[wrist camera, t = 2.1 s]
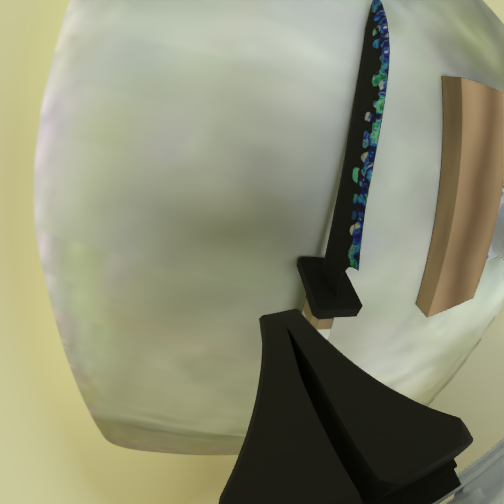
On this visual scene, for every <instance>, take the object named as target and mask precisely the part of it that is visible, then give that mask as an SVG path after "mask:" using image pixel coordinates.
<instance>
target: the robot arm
mask: <svg viewBox="0 0 504 504" xmlns="http://www.w3.org/2000/svg"><path fill="white" fill-rule="evenodd" d="M498 256H499V257H501V258H502V259H503V260H504V188H503V189H502V195H501V201H500V206H499V211H498V216H497V221H496V225H495V229H494V234H493V238H492V241H491V245H490V249H489V252H488V256H487V259H486V261H488V260H491V259H493V258H496V257H498ZM259 321H260V329H261V337H262V362H261V371H260V378H259V385H258V391H257V396H256V401H255V405H254V409H253V413H252V417H251V420H250V424H249V427H248V431H247V434H246V437H245V440H244V443H243V446H242V448H241V451H240V454H239V456H238V459H237V461H236V464H235V466H234V469H233V471H232V474H231V475H230V477H229V480H228V482H227V484H226V486H225V488H224V490H223V492H222V494H221V496H220V499H219V504H439V503H440V502H442V501H443V500H445V499H446V498H448V497H449V496H451V495H452V494H454V493H455V495H454V498H453V499H452V500H450V501H448V502H446V503H444V504H504V438H503V439H502V440H500V441H499V442H498V443H497V444H496V445H495V446H493V447H492V448H491V449H490V450H489V451H487V452H486V453H485V454H484V455H482V456H481V457H480V458H479V459H477V460H476V461H475V462H473V463H472V464H471V465H469V466H468V467H467V468H465V469H464V470H463V471H461V472H459V473H458V474H456V472H455V471H454V468H455V467H457V464H456V462H455V460H454V458H455V457H456V456H458V455H459V454H460V453H461V452H462V451H464V450H465V449H466V448H467V447H468V446H469V445H470V444H471V443H472V442H473V438H472V436H471V434H470V432H469V431H468V429H467V427H466V425H465V424H464V423H463V422H462V420H461V419H460V418H458V417H455V416H452V415H449V414H446V413H443V412H440V411H437V410H434V409H431V408H429V407H427V406H425V405H422V404H420V403H418V402H416V401H414V400H412V399H410V398H408V397H406V396H404V395H402V394H400V393H398V392H396V391H394V390H392V389H391V388H389V387H387V386H386V385H384V384H383V383H381V382H379V381H378V380H376V379H375V378H373V377H372V376H370V375H369V374H367V373H366V372H365V371H363V370H362V369H361V368H359V367H358V366H357V365H355V364H354V363H353V362H352V361H350V360H349V359H348V358H347V357H345V356H344V355H343V354H342V353H341V352H340V351H338V350H337V349H336V348H335V347H334V346H333V345H332V344H331V343H330V342H329V341H328V340H327V339H325V338H324V337H323V336H322V335H321V334H320V333H319V332H318V331H317V330H316V329H315V327H314V326H313V325H312V324H311V323H310V322H309V321H308V320H307V319H306V318H305V317H304V315H303V314H302V313H301V312H300V311H299V310H298V309H292V310H288V311H283V312H280V313H279V312H278V313H273V314H268V315H263V316H261V317H260V318H259Z"/></svg>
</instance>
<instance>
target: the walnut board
mask: <svg viewBox="0 0 504 504" xmlns="http://www.w3.org/2000/svg"><path fill="white" fill-rule="evenodd" d="M442 89H443V147H442V164H441V176H440V186H439V194H438V202H437V209H436V216H435V222H434V228H433V234H432V239H431V244H430V249H429V254H428V259H427V263H426V268H425V272H424V276H423V280H422V284H421V288H420V291H419V295H418V299H417V302H416V305H417V307H418V308H419V309H420V310H421V311H422V312H423V313H424V315H425V316H426V317H430V316H432V315H435V314H437V313H440V312H442V311H445V310H447V309H449V308H452V307H454V306H456V305H459V304H461V303H463V302H465V301H468V300H470V299H472V298H473V297H474V295H475V292H476V289H477V286H478V284H479V281H480V278H481V275H482V272H483V269H484V266H485V262H486V259H487V256H488V252H489V249H490V245H491V241H492V238H493V234H494V229H495V225H496V221H497V216H498V211H499V206H500V201H501V195H502V189H503V183H504V93H503V92H501V91H498V90H496V89H493V88H491V87H488V86H485V85H482V84H480V83H477V82H474V81H471V80H468V79H465V78H461V77H447V76H442Z"/></svg>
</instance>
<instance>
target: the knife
mask: <svg viewBox="0 0 504 504" xmlns="http://www.w3.org/2000/svg"><path fill="white" fill-rule="evenodd" d="M389 55H390V45H389V32H388V25H387V18H386V15H385V11H384V8H383V5H382V3H381V1H380V0H373V1H372V4H371V8H370V12H369V17H368V21H367V26H366V32H365V38H364V45H363V51H362V58H361V64H360V71H359V77H358V83H357V89H356V94H355V101H354V107H353V113H352V118H351V124H350V130H349V135H348V141H347V147H346V153H345V159H344V164H343V169H342V175H341V180H340V185H339V190H338V195H337V200H336V204H335V209H334V214H333V219H332V225H331V230H330V235H329V240H328V245H327V249H326V254H325V258H310V257H301V258H300V259H299V261H298V264H297V267H298V270H299V273H300V276H301V279H302V282H303V285H304V288H305V291H306V299H305V303H304V307H303V312H302V314H303V315H304V317H305V318H306V319H307V320H308V321H309V322H310V323H311V324H312V325H313V326H314V327H315V329H316V330H317V331H318V332H319V333H320V334H321V335H322V336H323V337H324V338H325V339H327V340H328V339H329V335H330V331H331V327H332V324H333V320H334V317H351V316H357V314H358V313H359V311H360V309H361V308H362V304H361V302H360V300H359V298H358V296H357V294H356V292H355V290H354V288H353V286H352V284H351V282H350V280H349V278H348V276H347V274H346V272H345V271H346V269H347V268H348V267H353V268H355V269H357V270H359V260H360V248H361V240H362V231H363V223H364V215H365V208H366V202H367V197H368V192H369V186H370V181H371V176H372V171H373V165H374V160H375V155H376V149H377V144H378V138H379V133H380V128H381V122H382V116H383V110H384V103H385V97H386V89H387V81H388V71H389Z"/></svg>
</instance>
